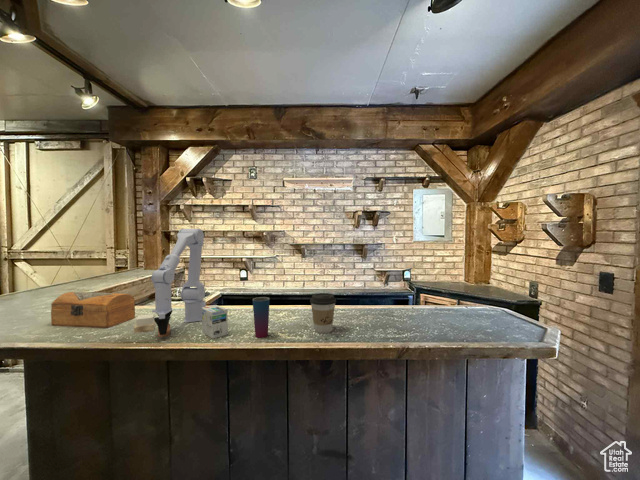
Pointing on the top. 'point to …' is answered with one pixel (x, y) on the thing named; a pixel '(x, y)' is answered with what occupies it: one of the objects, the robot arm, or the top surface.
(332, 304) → the coffee cup
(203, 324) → the light bulb box
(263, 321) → the cup
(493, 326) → the top surface
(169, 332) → the cylinder
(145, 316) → the tower top
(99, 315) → the wooden box
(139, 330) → the tower base
